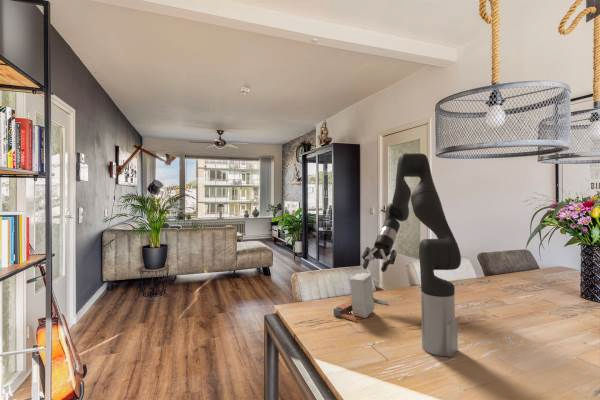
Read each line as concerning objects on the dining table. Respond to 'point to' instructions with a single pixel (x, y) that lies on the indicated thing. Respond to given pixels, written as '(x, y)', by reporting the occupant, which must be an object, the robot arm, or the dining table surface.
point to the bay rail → (347, 307)
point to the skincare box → (362, 294)
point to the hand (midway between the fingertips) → (373, 269)
